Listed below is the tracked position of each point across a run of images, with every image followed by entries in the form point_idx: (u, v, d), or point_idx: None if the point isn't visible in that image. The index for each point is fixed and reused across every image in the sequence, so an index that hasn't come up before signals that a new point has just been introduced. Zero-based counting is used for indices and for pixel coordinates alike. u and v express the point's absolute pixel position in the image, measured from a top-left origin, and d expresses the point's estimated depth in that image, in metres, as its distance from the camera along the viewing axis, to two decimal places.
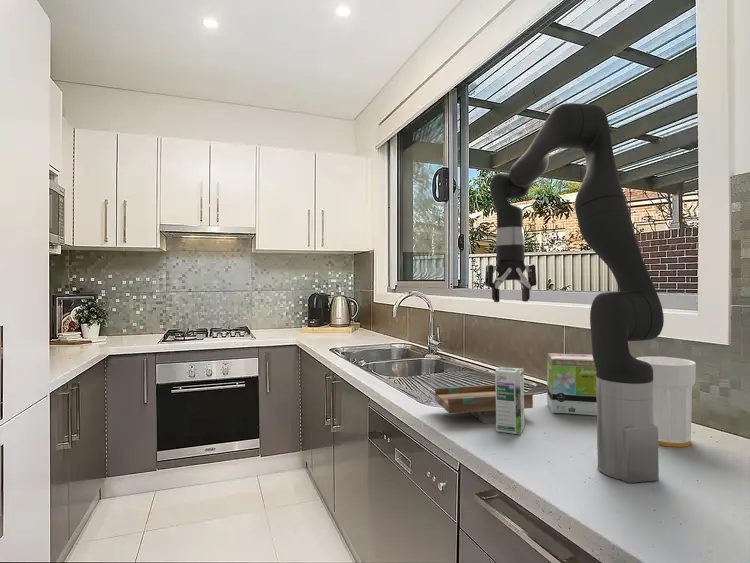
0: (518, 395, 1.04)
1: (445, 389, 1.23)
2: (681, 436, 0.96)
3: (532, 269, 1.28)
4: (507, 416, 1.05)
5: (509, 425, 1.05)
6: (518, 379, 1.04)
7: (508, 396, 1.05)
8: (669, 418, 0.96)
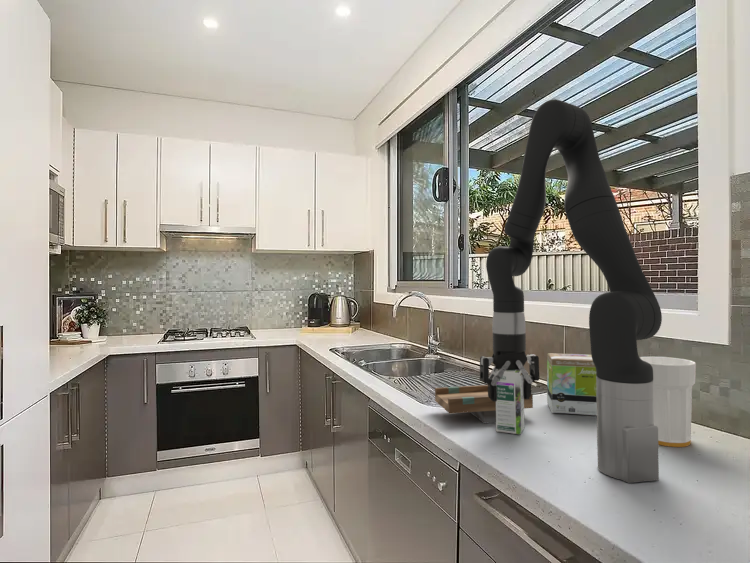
0: (518, 395, 1.04)
1: (445, 389, 1.23)
2: (681, 436, 0.96)
3: (535, 361, 1.08)
4: (507, 416, 1.05)
5: (509, 425, 1.05)
6: (518, 379, 1.04)
7: (508, 395, 1.05)
8: (669, 418, 0.96)
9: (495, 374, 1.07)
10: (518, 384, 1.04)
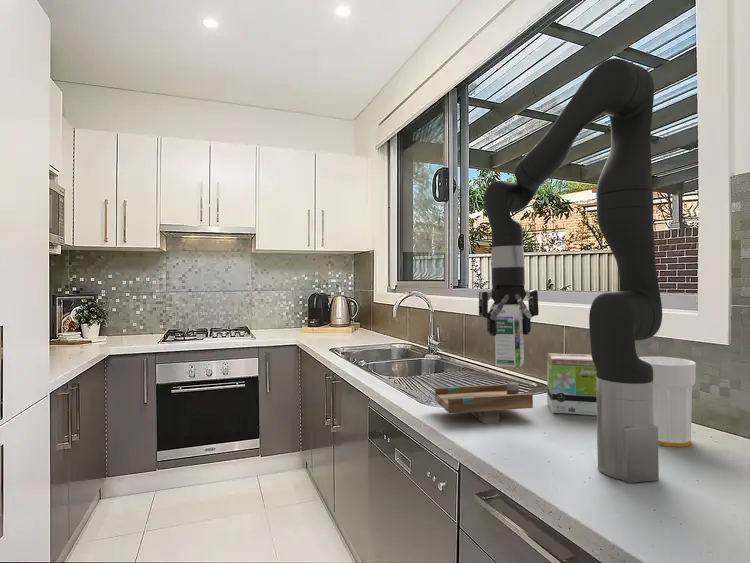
0: (517, 328, 1.04)
1: (445, 389, 1.23)
2: (681, 436, 0.96)
3: (534, 296, 1.08)
4: (506, 349, 1.05)
5: (509, 358, 1.05)
6: (517, 312, 1.04)
7: (507, 329, 1.05)
8: (669, 418, 0.96)
9: (494, 308, 1.06)
10: (517, 317, 1.04)
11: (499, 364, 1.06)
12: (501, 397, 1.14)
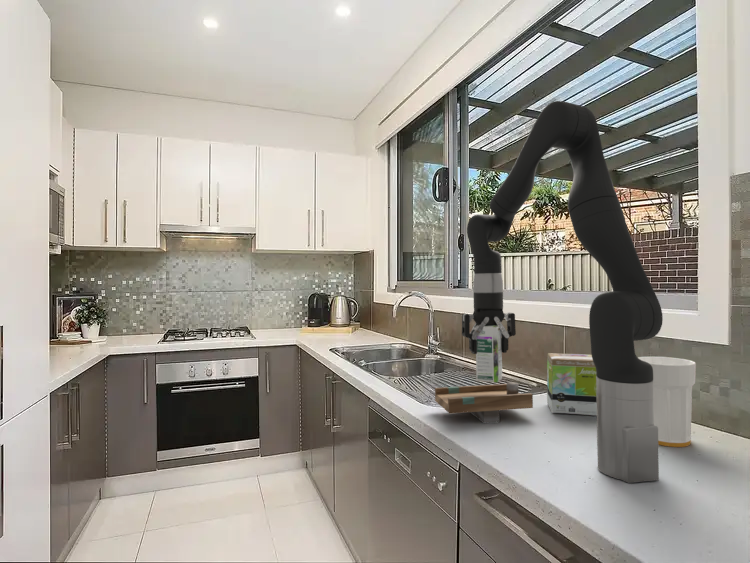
0: (495, 347, 1.16)
1: (445, 389, 1.23)
2: (681, 436, 0.96)
3: (511, 318, 1.19)
4: (486, 366, 1.17)
5: (488, 374, 1.17)
6: (495, 333, 1.16)
7: (487, 348, 1.17)
8: (669, 418, 0.96)
9: (475, 329, 1.18)
10: (496, 337, 1.16)
11: (479, 379, 1.18)
12: (501, 397, 1.14)
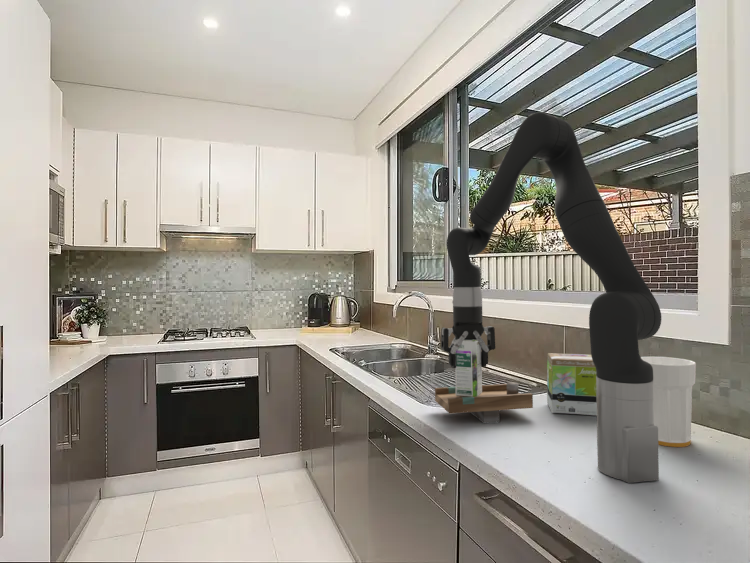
0: (474, 361, 1.15)
1: (445, 389, 1.23)
2: (681, 436, 0.96)
3: (491, 332, 1.19)
4: (465, 381, 1.16)
5: (467, 389, 1.16)
6: (474, 347, 1.15)
7: (466, 362, 1.16)
8: (669, 418, 0.96)
9: (454, 343, 1.17)
10: (474, 352, 1.15)
11: (459, 394, 1.17)
12: (501, 397, 1.14)
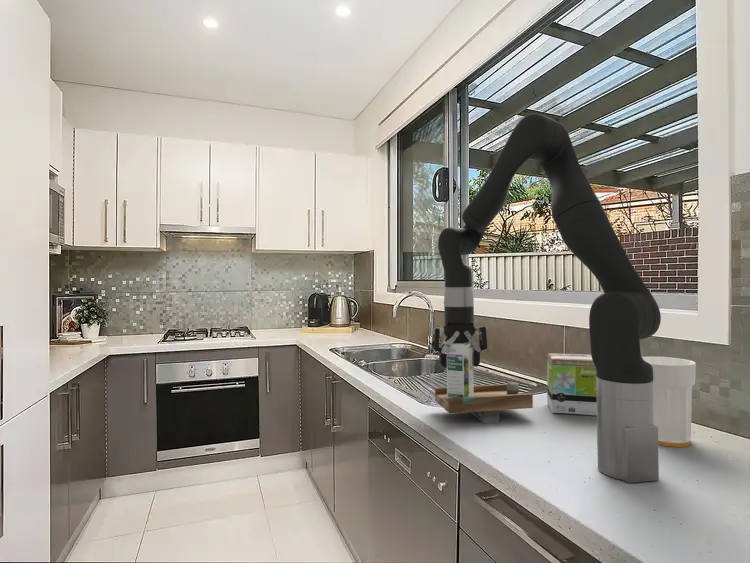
0: (466, 365, 1.15)
1: (445, 389, 1.23)
2: (681, 436, 0.96)
3: (482, 332, 1.18)
4: (456, 385, 1.16)
5: (458, 393, 1.15)
6: (466, 351, 1.15)
7: (457, 366, 1.16)
8: (669, 418, 0.96)
9: (445, 343, 1.17)
10: (466, 355, 1.15)
11: (450, 397, 1.17)
12: (501, 397, 1.14)
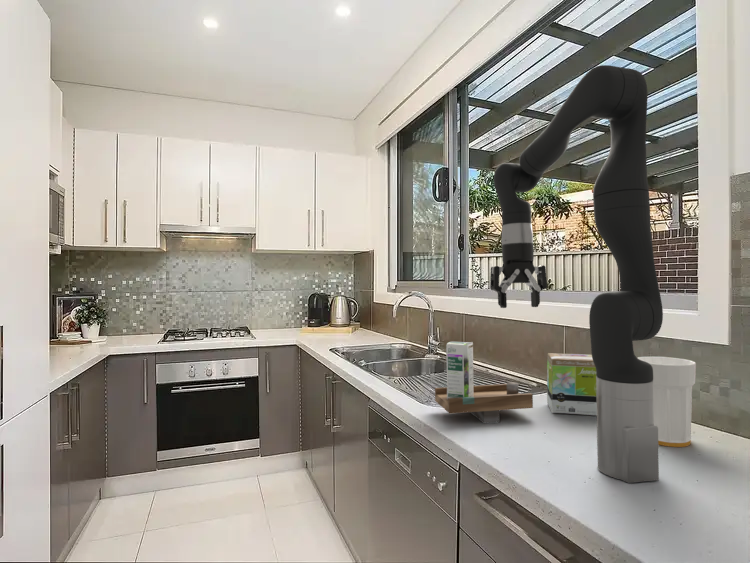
0: (466, 365, 1.15)
1: (445, 389, 1.23)
2: (681, 436, 0.96)
3: (542, 270, 1.14)
4: (456, 384, 1.16)
5: (458, 393, 1.15)
6: (466, 351, 1.15)
7: (457, 366, 1.16)
8: (669, 418, 0.96)
9: (505, 282, 1.13)
10: (466, 355, 1.15)
11: (450, 397, 1.17)
12: (501, 397, 1.14)
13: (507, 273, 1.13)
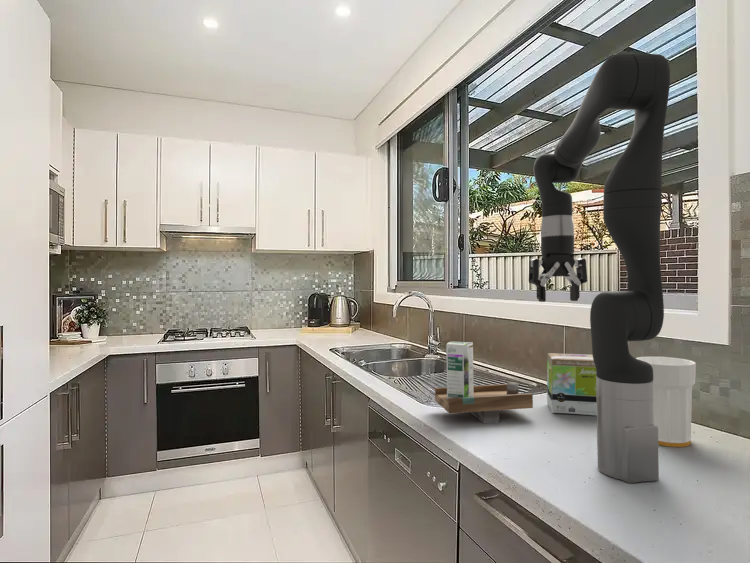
0: (466, 365, 1.15)
1: (445, 389, 1.23)
2: (681, 436, 0.96)
3: (582, 264, 1.12)
4: (456, 384, 1.16)
5: (458, 393, 1.15)
6: (466, 351, 1.15)
7: (457, 366, 1.16)
8: (669, 418, 0.96)
9: (544, 275, 1.11)
10: (466, 355, 1.15)
11: (450, 397, 1.17)
12: (501, 397, 1.14)
13: (547, 266, 1.11)
